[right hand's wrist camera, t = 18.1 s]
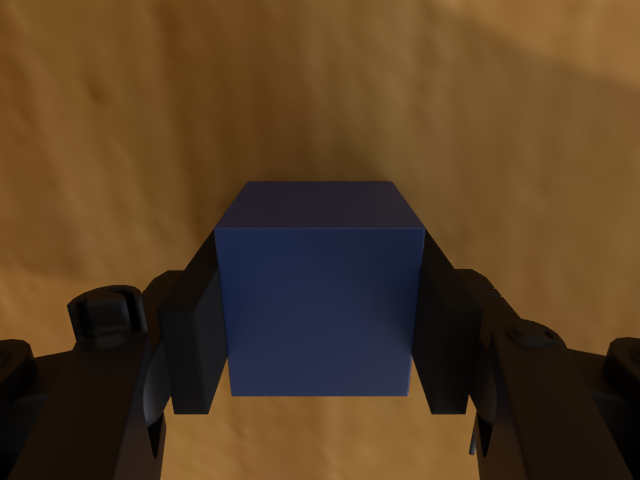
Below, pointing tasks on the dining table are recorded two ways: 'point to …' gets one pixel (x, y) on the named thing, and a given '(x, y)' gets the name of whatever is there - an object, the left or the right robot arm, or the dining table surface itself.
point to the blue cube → (319, 288)
